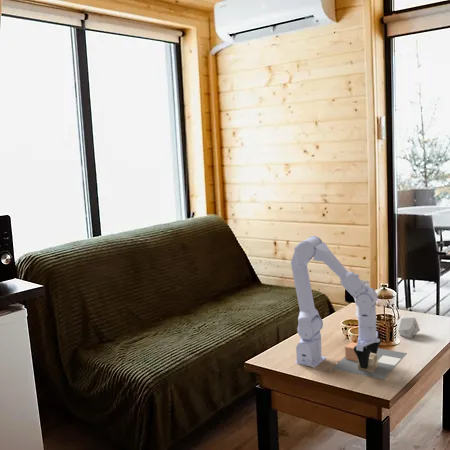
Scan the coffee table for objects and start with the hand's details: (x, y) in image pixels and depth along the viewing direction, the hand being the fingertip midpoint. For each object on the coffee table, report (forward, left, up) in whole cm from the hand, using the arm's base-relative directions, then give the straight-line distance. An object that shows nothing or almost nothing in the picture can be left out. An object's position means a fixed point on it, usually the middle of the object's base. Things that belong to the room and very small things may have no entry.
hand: (368, 364), depth 187 cm
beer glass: (+51, +22, -2) cm, 56 cm away
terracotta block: (+6, +7, -1) cm, 9 cm away
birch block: (0, 0, -1) cm, 1 cm away
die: (+36, -2, -2) cm, 36 cm away
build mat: (+6, +2, -2) cm, 6 cm away
